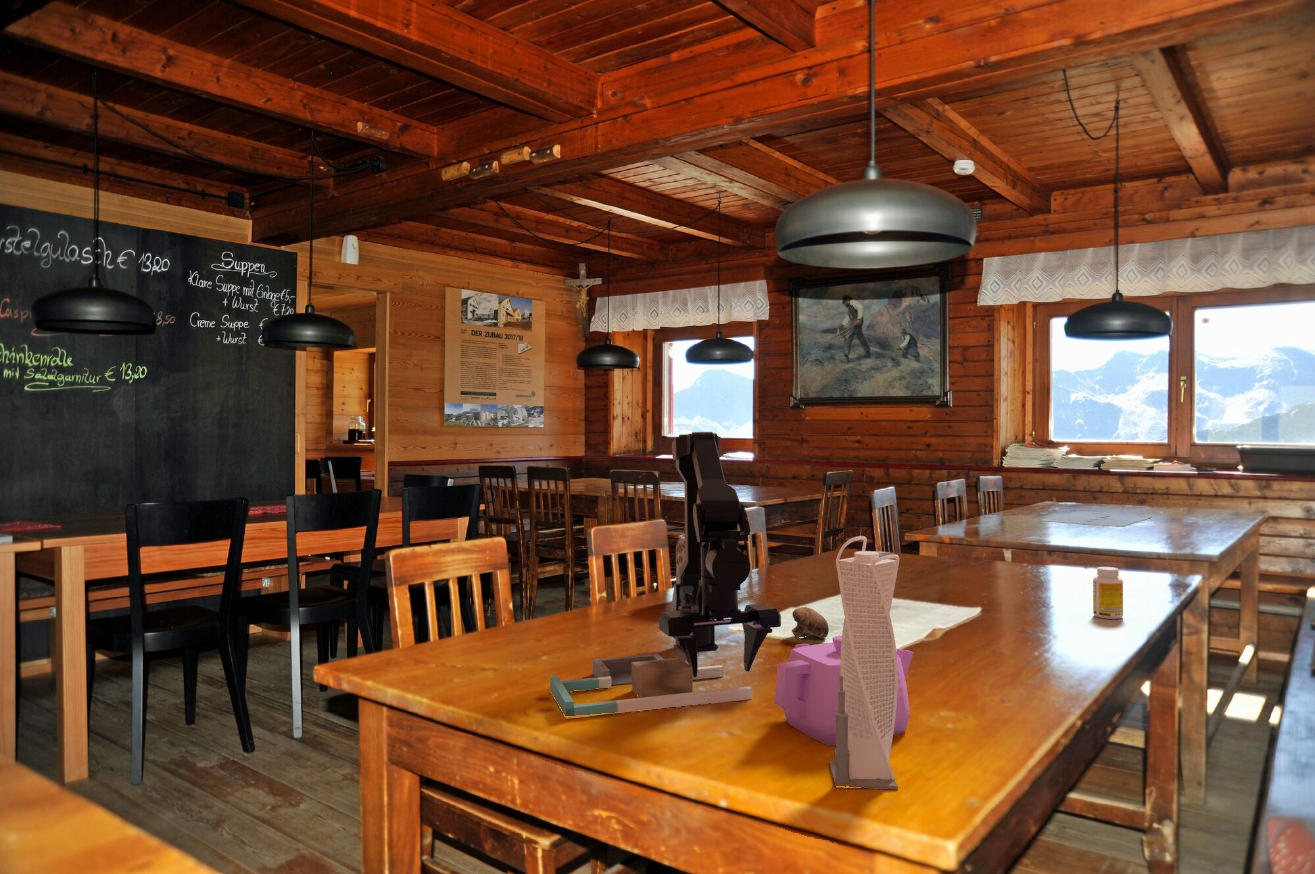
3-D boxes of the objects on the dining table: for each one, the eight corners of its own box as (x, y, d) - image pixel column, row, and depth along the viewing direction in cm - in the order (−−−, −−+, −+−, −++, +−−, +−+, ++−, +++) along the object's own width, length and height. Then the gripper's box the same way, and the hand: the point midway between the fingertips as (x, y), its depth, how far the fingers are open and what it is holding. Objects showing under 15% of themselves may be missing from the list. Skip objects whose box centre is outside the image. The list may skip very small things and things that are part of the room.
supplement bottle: (1129, 618, 181) (1129, 569, 181) (1106, 620, 180) (1106, 571, 179) (1109, 613, 186) (1109, 565, 186) (1087, 614, 185) (1087, 566, 185)
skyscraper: (828, 759, 109) (825, 534, 108) (894, 760, 108) (892, 534, 107) (835, 787, 100) (833, 544, 100) (907, 789, 99) (905, 544, 99)
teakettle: (771, 740, 115) (770, 647, 115) (796, 701, 131) (796, 619, 131) (904, 756, 109) (903, 658, 109) (914, 713, 125) (913, 627, 125)
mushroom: (778, 623, 167) (796, 596, 168) (787, 630, 174) (805, 604, 175) (812, 648, 163) (831, 620, 164) (820, 654, 170) (838, 628, 171)
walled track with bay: (706, 663, 152) (706, 648, 152) (752, 698, 132) (751, 682, 132) (543, 679, 144) (542, 664, 144) (565, 719, 124) (565, 702, 124)
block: (680, 685, 140) (679, 657, 140) (692, 696, 134) (692, 667, 134) (632, 690, 137) (631, 662, 137) (642, 702, 132) (642, 672, 132)
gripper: (753, 563, 148) (755, 655, 149) (648, 571, 143) (649, 666, 143) (781, 574, 138) (783, 672, 138) (668, 582, 132) (670, 685, 132)
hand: (720, 673), depth 138 cm, fingers open, 8 cm apart
